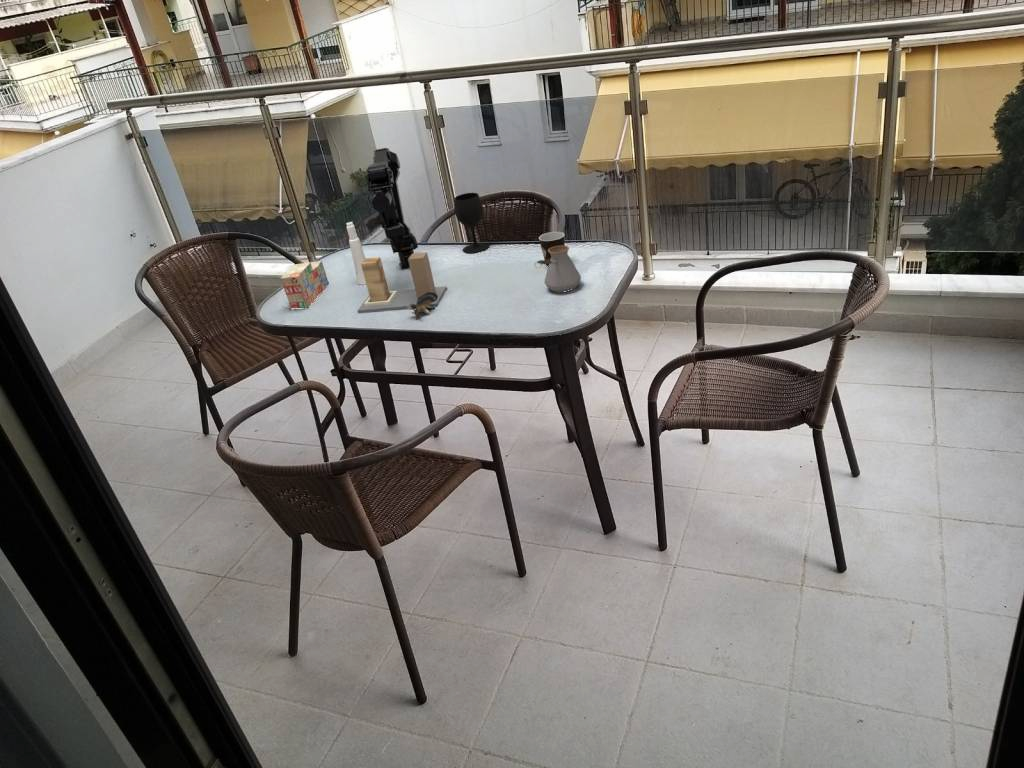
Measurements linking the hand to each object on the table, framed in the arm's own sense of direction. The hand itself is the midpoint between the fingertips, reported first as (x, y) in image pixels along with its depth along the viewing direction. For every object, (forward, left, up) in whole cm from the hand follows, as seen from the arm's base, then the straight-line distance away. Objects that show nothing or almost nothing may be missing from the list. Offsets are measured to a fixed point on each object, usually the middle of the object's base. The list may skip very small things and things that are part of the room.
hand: (397, 248), depth 259 cm
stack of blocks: (-11, -33, -13) cm, 37 cm away
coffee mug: (+16, +50, -13) cm, 54 cm away
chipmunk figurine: (+30, +2, -13) cm, 33 cm away
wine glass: (-18, +30, -13) cm, 37 cm away
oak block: (+12, -10, -12) cm, 20 cm away
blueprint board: (+15, -3, -13) cm, 20 cm away
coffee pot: (+42, +42, -13) cm, 61 cm away
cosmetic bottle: (-12, -13, -13) cm, 22 cm away
